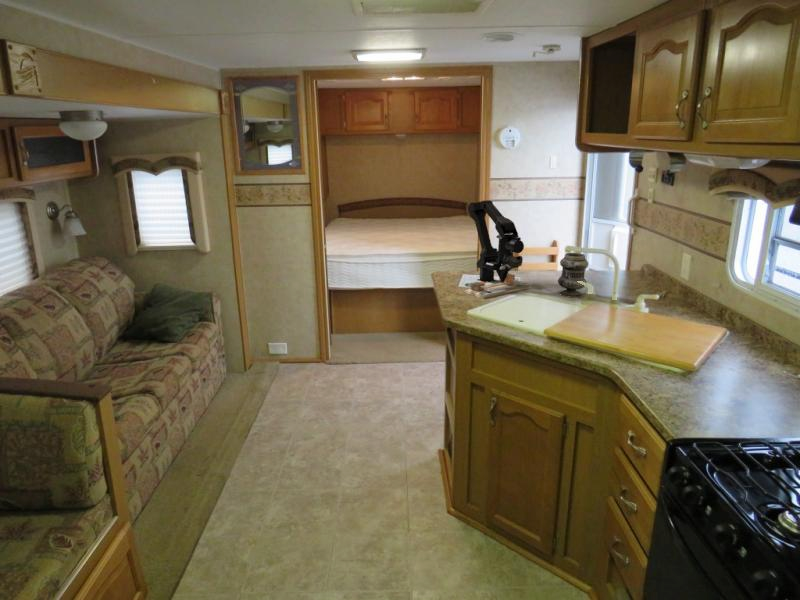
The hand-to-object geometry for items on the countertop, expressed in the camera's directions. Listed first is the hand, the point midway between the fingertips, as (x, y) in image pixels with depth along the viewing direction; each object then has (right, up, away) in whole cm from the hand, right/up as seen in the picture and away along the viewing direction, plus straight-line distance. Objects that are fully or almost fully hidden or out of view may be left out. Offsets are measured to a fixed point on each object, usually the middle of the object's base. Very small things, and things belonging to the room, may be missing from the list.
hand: (502, 282), depth 253 cm
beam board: (-3, -4, -5) cm, 7 cm away
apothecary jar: (+28, -6, -11) cm, 31 cm away
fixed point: (-11, -4, -11) cm, 16 cm away
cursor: (+5, -1, 0) cm, 5 cm away
